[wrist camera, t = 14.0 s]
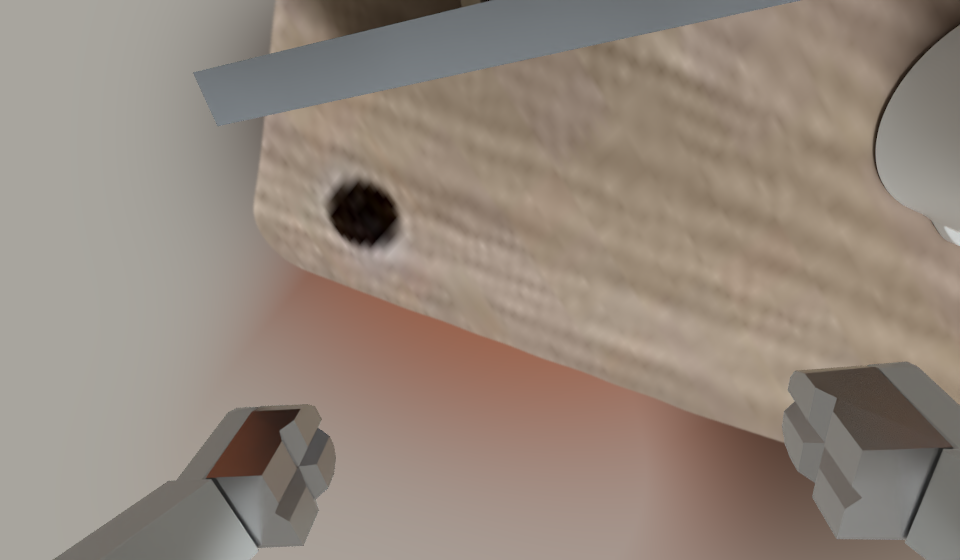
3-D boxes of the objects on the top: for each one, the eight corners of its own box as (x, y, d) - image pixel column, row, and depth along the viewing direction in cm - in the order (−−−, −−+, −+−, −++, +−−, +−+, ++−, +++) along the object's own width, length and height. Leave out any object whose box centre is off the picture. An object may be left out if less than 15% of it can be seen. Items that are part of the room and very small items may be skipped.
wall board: (786, -64, 28) (1091, -146, 13) (782, -25, 29) (1063, -57, 14) (350, 41, 33) (192, 72, 18) (359, 71, 34) (217, 126, 19)
